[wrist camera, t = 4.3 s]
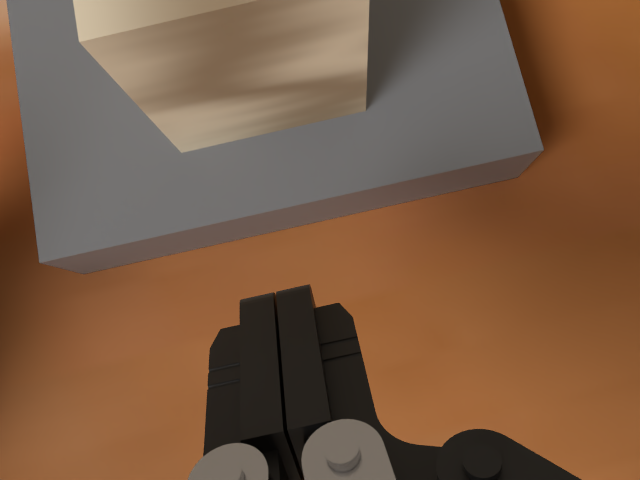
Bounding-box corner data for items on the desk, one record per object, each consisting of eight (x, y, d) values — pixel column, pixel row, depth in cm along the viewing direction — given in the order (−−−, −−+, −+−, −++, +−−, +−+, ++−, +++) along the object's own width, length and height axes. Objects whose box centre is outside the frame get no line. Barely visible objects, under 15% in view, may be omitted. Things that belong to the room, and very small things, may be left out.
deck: (435, -111, 23) (446, -177, 20) (517, 177, 21) (543, 149, 18) (42, -18, 24) (-3, -70, 21) (83, 273, 21) (39, 263, 18)
